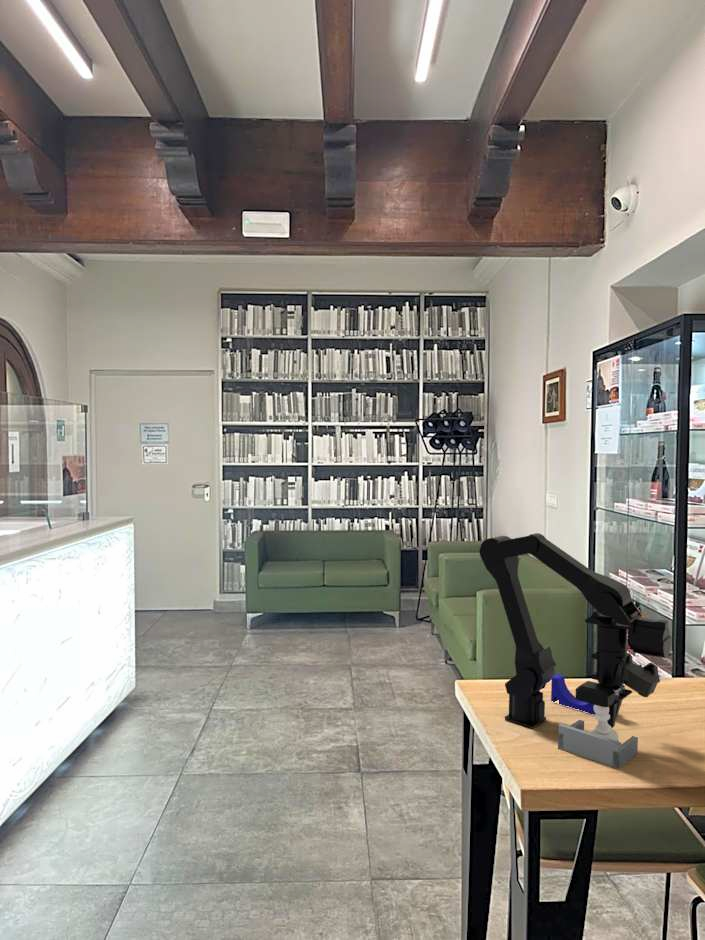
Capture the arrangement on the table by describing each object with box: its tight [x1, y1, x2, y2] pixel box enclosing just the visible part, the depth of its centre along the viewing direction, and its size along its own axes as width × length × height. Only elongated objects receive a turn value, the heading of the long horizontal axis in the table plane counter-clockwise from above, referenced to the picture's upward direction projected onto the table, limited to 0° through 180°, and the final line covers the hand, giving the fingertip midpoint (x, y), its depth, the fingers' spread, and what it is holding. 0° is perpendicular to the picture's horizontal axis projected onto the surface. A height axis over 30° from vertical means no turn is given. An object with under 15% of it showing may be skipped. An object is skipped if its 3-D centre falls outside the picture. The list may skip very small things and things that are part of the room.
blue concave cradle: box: [550, 673, 595, 716], centre depth 150 cm, size 12×4×6 cm, turn 46°
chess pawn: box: [591, 705, 620, 742], centre depth 129 cm, size 5×5×9 cm
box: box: [557, 719, 639, 770], centre depth 129 cm, size 12×9×4 cm
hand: (610, 727), depth 132 cm, fingers closed
